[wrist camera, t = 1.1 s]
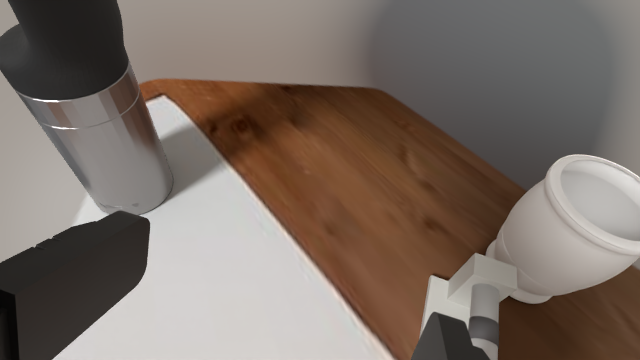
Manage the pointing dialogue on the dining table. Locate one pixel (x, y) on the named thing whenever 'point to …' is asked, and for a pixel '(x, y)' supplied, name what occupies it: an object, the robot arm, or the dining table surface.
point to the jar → (571, 228)
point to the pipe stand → (474, 298)
